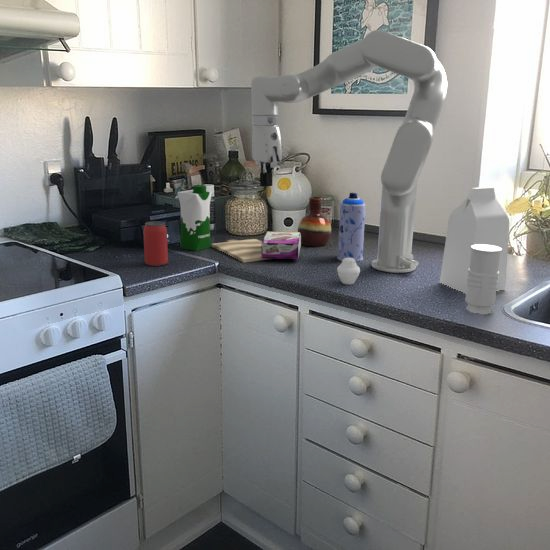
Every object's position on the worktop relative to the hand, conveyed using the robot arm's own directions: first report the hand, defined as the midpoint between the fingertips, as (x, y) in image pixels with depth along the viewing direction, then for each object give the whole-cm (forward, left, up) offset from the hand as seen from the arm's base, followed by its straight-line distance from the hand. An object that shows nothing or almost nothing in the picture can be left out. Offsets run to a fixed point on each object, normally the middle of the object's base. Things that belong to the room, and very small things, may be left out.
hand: (266, 186), depth 182 cm
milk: (-51, -34, -22) cm, 64 cm away
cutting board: (+10, 0, -22) cm, 24 cm away
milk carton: (+21, +13, -22) cm, 34 cm away
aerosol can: (-13, -23, -22) cm, 34 cm away
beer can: (+8, +31, -22) cm, 39 cm away
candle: (-65, -21, -22) cm, 71 cm away
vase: (+8, -24, -22) cm, 33 cm away
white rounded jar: (-33, -7, -22) cm, 40 cm away
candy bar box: (-7, -1, -18) cm, 20 cm away
